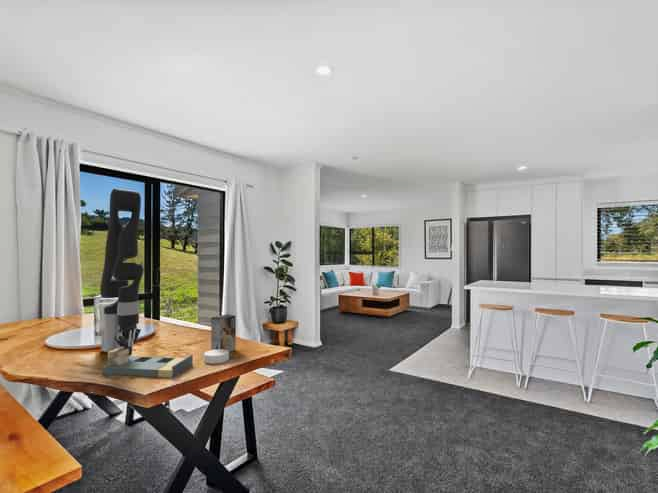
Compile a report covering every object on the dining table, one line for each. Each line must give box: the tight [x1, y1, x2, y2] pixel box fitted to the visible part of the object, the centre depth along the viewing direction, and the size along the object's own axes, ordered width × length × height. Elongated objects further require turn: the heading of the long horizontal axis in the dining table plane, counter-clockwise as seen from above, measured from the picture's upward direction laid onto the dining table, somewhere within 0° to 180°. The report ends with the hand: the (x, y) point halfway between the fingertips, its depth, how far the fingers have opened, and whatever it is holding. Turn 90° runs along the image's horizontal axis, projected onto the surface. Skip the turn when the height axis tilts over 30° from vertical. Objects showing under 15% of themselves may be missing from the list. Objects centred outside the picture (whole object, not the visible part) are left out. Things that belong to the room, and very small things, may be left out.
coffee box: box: [210, 314, 237, 353], centre depth 159 cm, size 9×6×16 cm
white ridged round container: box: [203, 349, 230, 365], centre depth 147 cm, size 10×10×4 cm
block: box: [107, 348, 129, 366], centre depth 134 cm, size 5×5×5 cm
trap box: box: [101, 354, 194, 378], centre depth 135 cm, size 28×14×4 cm, turn 84°
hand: (127, 355), depth 139 cm, fingers closed
